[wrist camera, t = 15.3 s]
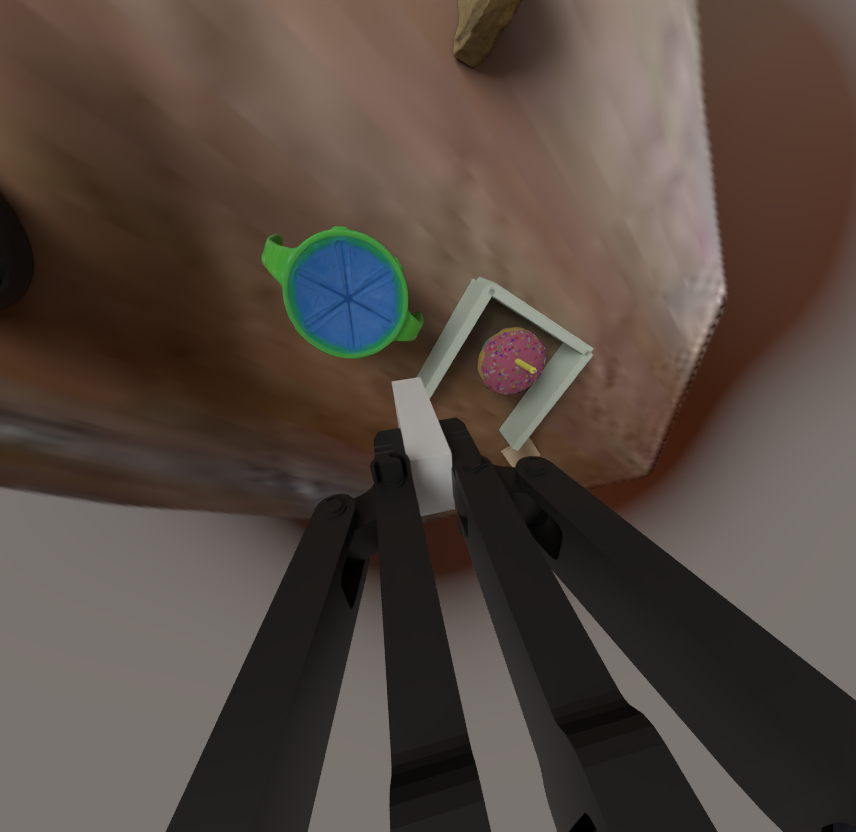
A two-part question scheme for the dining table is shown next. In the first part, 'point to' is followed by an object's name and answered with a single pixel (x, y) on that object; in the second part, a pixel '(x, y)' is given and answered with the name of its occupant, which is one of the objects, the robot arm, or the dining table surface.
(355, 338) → the snack cup
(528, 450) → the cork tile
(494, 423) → the dining table surface
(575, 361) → the tray
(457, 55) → the rock
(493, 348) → the cupcake
